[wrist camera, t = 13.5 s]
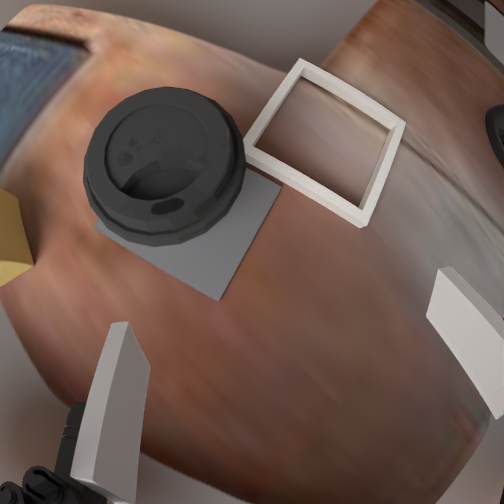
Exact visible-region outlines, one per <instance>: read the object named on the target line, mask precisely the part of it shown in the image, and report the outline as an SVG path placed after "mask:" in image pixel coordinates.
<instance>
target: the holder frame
mask: <svg viewBox="0 0 504 504" xmlns="http://www.w3.org/2000/svg"><path fill="white" fill-rule="evenodd" d="M300 76H302V77H304V78H306V79H308V80H310V81H312V82H314V83H315V84H317V85H319V86H321V87H323V88H324V89H326V90H328V91H330V92H332V93H333V94H335V95H337V96H338V97H340V98H342V99H343V100H345V101H347V102H348V103H350V104H352V105H353V106H355V107H356V108H358V109H360V110H361V111H363V112H364V113H366V114H367V115H369V116H370V117H372V118H373V119H375V120H376V121H378V122H379V123H381V124H382V125H384V126H385V127H387V128H388V129H390V131H389V134H388V136H387V139H386V142H385V144H384V147H383V149H382V152H381V154H380V157H379V159H378V162H377V164H376V167H375V169H374V172H373V174H372V176H371V179H370V181H369V184H368V186H367V188H366V191H365V193H364V195H363V198H362V200H361V202H360V205H359V207H356V206H354V205H353V204H351V203H350V202H348V201H347V200H345V199H343V198H342V197H340V196H339V195H337V194H335V193H334V192H332V191H331V190H329V189H327V188H326V187H324V186H322V185H321V184H319V183H317V182H316V181H314V180H312V179H311V178H309V177H307V176H306V175H304V174H302V173H300V172H299V171H297V170H295V169H293V168H292V167H290V166H288V165H286V164H285V163H283V162H281V161H279V160H277V159H276V158H274V157H272V156H270V155H268V154H266V153H265V152H263V151H261V150H259V149H257V148H255V147H254V146H255V144H256V143H257V141H258V140H259V138H260V137H261V135H262V133H263V132H264V130H265V129H266V127H267V126H268V124H269V123H270V121H271V120H272V118H273V117H274V115H275V113H276V112H277V110H278V109H279V107H280V106H281V104H282V103H283V101H284V100H285V98H286V97H287V95H288V94H289V92H290V91H291V89H292V88H293V87H294V85H295V84H296V82H297V81H298V79H299V78H300ZM405 125H406V122H404V121H403V120H402V119H400V118H399V117H397V116H396V115H395V114H393V113H392V112H390V111H389V110H387V109H386V108H385V107H383V106H382V105H380V104H379V103H377V102H376V101H374V100H373V99H371V98H370V97H368V96H366V95H365V94H363V93H362V92H360V91H358V90H357V89H355V88H354V87H352V86H350V85H349V84H347V83H345V82H344V81H342V80H340V79H338V78H337V77H335V76H333V75H331V74H330V73H328V72H326V71H324V70H322V69H320V68H318V67H317V66H315V65H313V64H311V63H309V62H307V61H305V60H303V59H301V58H299V60H298V61H297V63H296V64H295V65H294V67H293V68H292V69H291V71H290V72H289V73H288V75H287V76H286V78H285V79H284V80H283V82H282V83H281V85H280V86H279V87H278V89H277V90H276V92H275V93H274V94H273V96H272V97H271V99H270V100H269V102H268V103H267V105H266V106H265V107H264V109H263V110H262V112H261V113H260V115H259V116H258V118H257V119H256V121H255V122H254V124H253V125H252V127H251V128H250V130H249V131H248V133H247V134H246V136H245V137H244V139H243V142H244V149H245V157H246V162H247V163H249V164H251V165H253V166H255V167H257V168H258V169H260V170H262V171H264V172H266V173H268V174H269V175H271V176H273V177H275V178H277V179H278V180H280V181H282V182H284V183H285V184H287V185H289V186H291V187H292V188H294V189H296V190H298V191H299V192H301V193H303V194H304V195H306V196H308V197H310V198H311V199H313V200H315V201H316V202H318V203H320V204H321V205H323V206H325V207H326V208H328V209H329V210H331V211H333V212H334V213H336V214H338V215H339V216H341V217H342V218H344V219H346V220H347V221H349V222H350V223H352V224H354V225H355V226H357V227H358V228H362V227H364V226H367V225H368V222H369V220H370V217H371V215H372V213H373V210H374V208H375V206H376V203H377V201H378V198H379V196H380V193H381V191H382V188H383V186H384V183H385V180H386V178H387V175H388V173H389V170H390V167H391V165H392V162H393V159H394V157H395V154H396V151H397V148H398V145H399V142H400V140H401V137H402V134H403V131H404V128H405Z"/></svg>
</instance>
